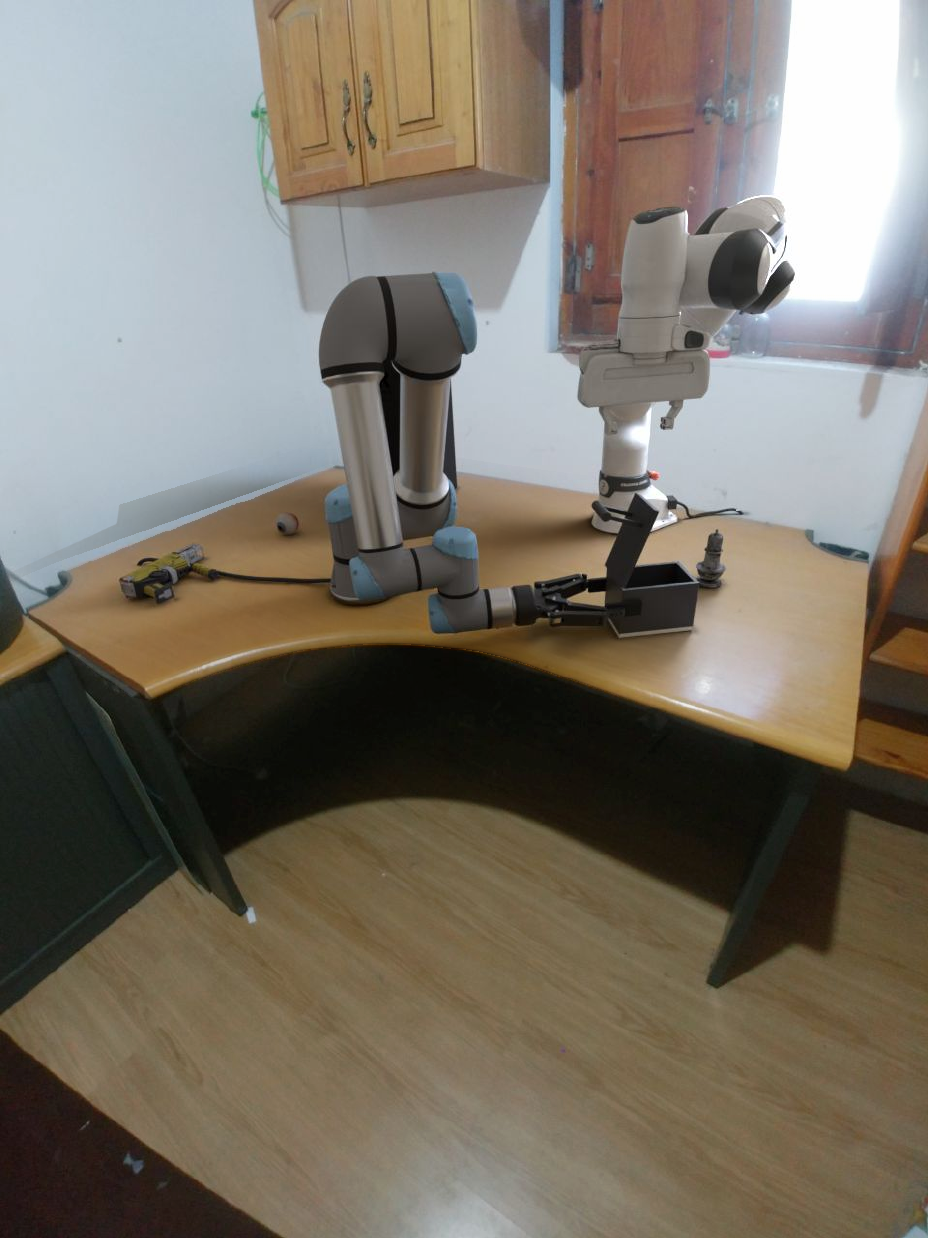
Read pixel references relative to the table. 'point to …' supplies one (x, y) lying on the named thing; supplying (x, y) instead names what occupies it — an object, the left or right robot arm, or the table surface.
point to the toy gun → (164, 574)
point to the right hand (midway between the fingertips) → (638, 431)
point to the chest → (655, 599)
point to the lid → (628, 535)
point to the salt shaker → (711, 562)
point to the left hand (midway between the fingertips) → (630, 594)
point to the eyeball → (287, 523)
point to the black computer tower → (392, 422)
